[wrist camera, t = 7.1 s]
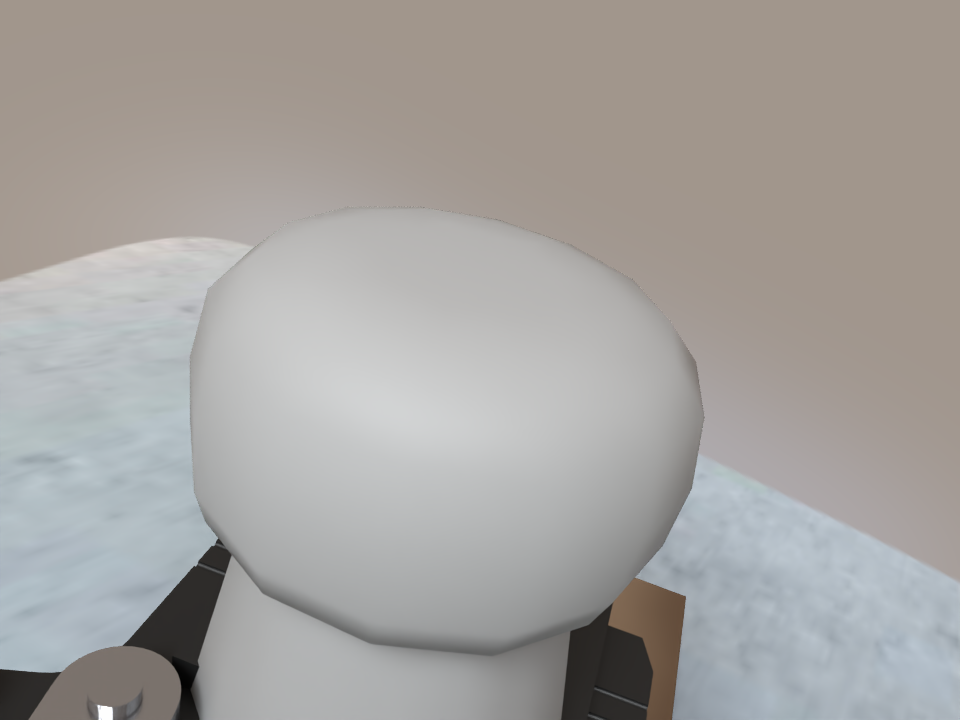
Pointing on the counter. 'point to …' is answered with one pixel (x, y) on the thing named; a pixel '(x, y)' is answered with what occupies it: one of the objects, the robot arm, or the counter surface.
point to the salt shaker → (426, 464)
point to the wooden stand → (654, 636)
